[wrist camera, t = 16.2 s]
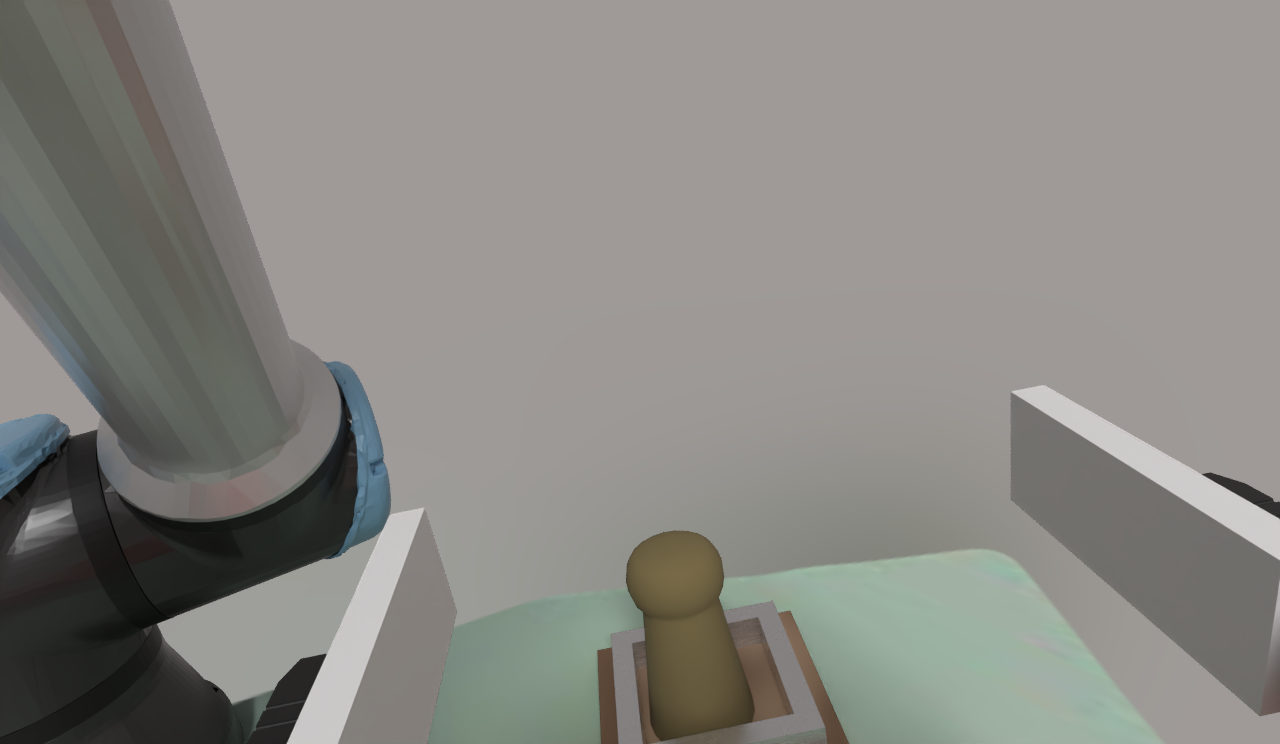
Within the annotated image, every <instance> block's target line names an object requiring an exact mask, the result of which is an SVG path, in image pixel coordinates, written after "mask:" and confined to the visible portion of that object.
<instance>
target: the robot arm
mask: <svg viewBox="0 0 1280 744" xmlns="http://www.w3.org/2000/svg"><path fill="white" fill-rule="evenodd" d="M0 292H1V293H2V294H3V295H4V297H5V298H6V299H7V300H8V302H9V303H10V304H11V305H12V306H13V308H14V309H15V310H16V311H17V313H18V314H19V315H20V316H21V318H22V319H23V320H24V321H25V322H26V324H27V325H28V326H29V327H30V329H31V330H32V331H33V332H34V333H35V335H36V336H37V337H38V339H39V340H40V341H41V342H42V343H43V345H44V346H45V347H46V348H47V350H48V351H49V352H50V353H51V355H52V356H53V357H54V358H55V360H56V361H57V362H58V363H59V364H60V366H61V367H62V368H63V369H64V371H65V372H66V373H67V374H68V375H69V377H70V378H71V379H72V380H73V382H74V383H75V384H76V385H77V387H78V388H79V389H80V390H81V392H82V393H83V394H84V395H85V396H86V398H87V399H88V400H89V401H90V403H91V404H92V405H93V406H94V408H95V409H96V410H97V411H98V412H99V414H100V415H101V418H100V422H99V426H98V430H94V431H90V432H87V433H84V434H80V435H76V436H71V435H69V433H70V430H69V428H68V426H67V425H66V424H64V423H62V422H60V420H59V419H58V418H57V417H55V416H53V415H50V414H39V415H34V416H32V417H29V418H25V419H18V420H13V421H9V422H6V423H3V424H0V744H242V742H243V732H242V727H241V724H240V722H239V720H238V717H237V715H236V713H235V711H234V709H233V707H232V704H231V702H230V700H229V699H228V697H227V696H226V694H225V693H224V692H223V691H222V690H221V689H220V688H219V687H217V686H216V685H215V684H213V683H212V682H210V681H207V680H204V679H203V677H201V676H200V674H199V673H198V672H197V671H196V670H195V669H193V667H192V666H190V665H189V664H188V663H187V662H186V661H185V660H184V659H183V658H182V657H181V656H180V655H179V654H178V653H177V652H176V651H175V650H174V649H173V648H171V647H170V646H169V645H168V644H167V642H166V641H165V640H164V638H163V636H162V634H161V632H160V630H159V628H158V625H157V623H160V622H162V621H165V620H168V619H170V618H173V617H175V616H177V615H179V614H182V613H185V612H187V611H190V610H192V609H195V608H197V607H200V606H203V605H205V604H208V603H211V602H213V601H216V600H218V599H221V598H223V597H226V596H229V595H231V594H234V593H237V592H239V591H241V590H244V589H247V588H249V587H252V586H255V585H257V584H260V583H262V582H265V581H268V580H270V579H273V578H275V577H278V576H280V575H283V574H286V573H288V572H291V571H293V570H296V569H299V568H301V567H304V566H306V565H309V564H312V563H314V562H317V561H319V560H322V559H332V558H335V557H338V556H341V555H342V553H345V552H346V551H347V550H348V549H349V548H351V547H353V546H355V545H358V544H360V543H362V542H364V541H367V540H369V539H371V538H373V537H375V536H376V535H377V534H379V533H380V532H381V531H382V530H383V531H382V533H381V535H380V537H379V539H378V542H377V544H376V546H375V549H374V551H373V553H372V555H371V557H370V560H369V562H368V564H367V566H366V568H365V571H364V573H363V575H362V578H361V580H360V582H359V584H358V586H357V589H356V591H355V593H354V595H353V597H352V600H351V602H350V604H349V606H348V609H347V611H346V613H345V616H344V617H343V620H342V622H341V624H340V626H339V629H338V631H337V633H336V635H335V637H334V640H333V642H332V644H331V646H330V649H329V651H328V653H327V654H323V655H318V656H313V657H308V658H303V659H300V660H299V661H298V662H297V663H296V665H294V666H293V668H292V669H291V670H290V671H289V672H288V673H287V674H286V675H285V676H284V677H283V678H282V679H281V680H280V681H279V682H278V684H277V686H276V688H275V690H274V692H273V694H272V696H271V698H270V700H269V702H268V704H267V706H266V711H263V713H262V715H261V717H260V719H259V721H258V723H257V725H256V731H253V733H252V735H251V737H250V739H249V741H248V743H247V744H427V742H428V738H429V733H430V729H431V725H432V720H433V716H434V711H435V707H436V702H437V698H438V694H439V689H440V685H441V680H442V676H443V671H444V667H445V663H446V658H447V654H448V649H449V645H450V640H451V636H452V632H453V627H454V623H455V618H456V614H457V610H456V607H455V603H454V600H453V597H452V594H451V590H450V587H449V584H448V581H447V578H446V574H445V571H444V568H443V565H442V562H441V558H440V555H439V552H438V549H437V545H436V542H435V539H434V536H433V533H432V530H431V526H430V523H429V520H428V517H427V513H426V510H425V508H420V509H416V510H410V511H405V512H400V513H395V514H390V508H391V494H390V484H389V477H388V472H387V468H386V466H385V463H384V462H383V456H384V454H383V447H382V442H381V438H380V434H379V431H378V427H377V424H376V420H375V417H374V414H373V411H372V408H371V406H370V403H369V400H368V398H367V395H366V393H365V391H364V388H363V386H362V384H361V382H360V380H359V378H358V376H357V375H356V373H355V372H354V371H353V369H352V368H351V367H350V366H348V365H346V364H343V363H341V362H329V363H327V362H323V361H322V360H321V359H320V358H319V357H318V356H317V355H316V354H314V353H313V352H312V351H311V350H310V349H308V348H306V347H305V346H303V345H301V344H299V343H297V342H295V341H293V340H291V339H289V336H288V334H287V331H286V328H285V325H284V322H283V319H282V317H281V314H280V311H279V308H278V306H277V303H276V300H275V297H274V294H273V291H272V289H271V286H270V283H269V280H268V278H267V275H266V272H265V269H264V267H263V263H262V261H261V258H260V255H259V252H258V250H257V247H256V244H255V241H254V238H253V236H252V233H251V230H250V227H249V224H248V221H247V218H246V216H245V213H244V210H243V207H242V205H241V202H240V199H239V196H238V193H237V190H236V187H235V185H234V182H233V179H232V176H231V173H230V171H229V168H228V165H227V162H226V159H225V156H224V154H223V151H222V149H221V145H220V142H219V140H218V137H217V134H216V132H215V128H214V126H213V123H212V120H211V117H210V114H209V111H208V109H207V106H206V103H205V100H204V97H203V94H202V92H201V89H200V86H199V83H198V80H197V78H196V75H195V72H194V69H193V66H192V64H191V61H190V58H189V55H188V52H187V49H186V47H185V44H184V41H183V38H182V35H181V32H180V30H179V27H178V24H177V21H176V18H175V16H174V13H173V10H172V7H171V5H170V2H169V0H0ZM1011 500H1012V501H1013V502H1014V503H1015V504H1016V505H1018V506H1019V507H1020V508H1021V509H1022V510H1023V511H1025V512H1026V513H1027V514H1028V515H1029V516H1030V517H1032V518H1033V519H1034V520H1035V521H1036V522H1037V523H1039V525H1041V526H1042V527H1043V528H1044V529H1045V530H1046V531H1048V532H1049V533H1050V534H1051V535H1052V536H1053V537H1055V538H1056V539H1057V540H1058V541H1059V542H1060V543H1061V544H1062V545H1064V546H1065V547H1066V548H1067V549H1068V550H1069V551H1070V552H1072V553H1073V554H1074V555H1075V556H1076V557H1077V558H1079V559H1080V560H1081V561H1082V562H1083V563H1084V564H1085V565H1087V566H1088V567H1089V568H1090V569H1091V570H1092V571H1093V572H1095V573H1096V574H1097V575H1098V576H1099V577H1100V578H1102V579H1103V580H1104V581H1105V582H1106V583H1107V584H1108V585H1110V586H1111V587H1112V588H1113V589H1114V590H1115V591H1116V592H1118V593H1119V594H1120V595H1121V596H1122V597H1123V598H1124V599H1126V600H1127V601H1128V602H1129V603H1130V604H1131V605H1132V606H1134V607H1135V608H1136V609H1137V610H1138V611H1140V612H1141V613H1142V614H1143V615H1144V616H1145V617H1146V618H1147V619H1149V620H1150V621H1151V622H1152V623H1153V624H1154V625H1156V626H1157V627H1158V628H1159V629H1160V630H1161V631H1162V632H1164V633H1165V634H1166V635H1167V636H1168V637H1169V638H1170V639H1172V640H1173V641H1174V642H1175V643H1176V644H1177V645H1178V646H1180V647H1181V648H1182V649H1183V650H1184V651H1185V652H1186V653H1188V654H1189V655H1190V656H1191V657H1192V658H1194V660H1196V661H1197V662H1198V663H1199V664H1200V665H1201V666H1203V667H1204V668H1205V669H1206V670H1207V671H1208V672H1209V673H1211V674H1212V675H1213V676H1214V677H1215V678H1217V679H1218V680H1219V681H1220V682H1221V683H1222V684H1223V685H1224V686H1226V687H1227V688H1228V689H1229V690H1230V691H1231V692H1232V693H1234V694H1235V695H1236V696H1237V697H1238V698H1239V699H1241V700H1242V701H1243V702H1244V703H1245V704H1246V705H1247V706H1249V707H1250V708H1251V709H1252V710H1253V711H1254V712H1255V713H1257V714H1258V715H1259V716H1263V715H1268V714H1273V713H1277V712H1280V502H1274V501H1273V499H1272V498H1271V497H1269V496H1267V495H1265V494H1264V493H1261V492H1260V491H1258V490H1256V489H1254V488H1253V487H1251V486H1249V485H1247V484H1245V483H1242V482H1239V481H1235V480H1232V479H1229V478H1226V477H1223V476H1220V475H1216V474H1213V473H1206V474H1200V473H1198V472H1196V471H1194V470H1192V469H1191V468H1189V467H1187V466H1186V465H1184V464H1182V463H1180V462H1178V461H1177V460H1175V459H1173V458H1171V457H1170V456H1168V455H1166V454H1164V453H1163V452H1161V451H1159V450H1157V449H1156V448H1154V447H1152V446H1150V445H1149V444H1147V443H1145V442H1143V441H1142V440H1140V439H1138V438H1136V437H1134V436H1133V435H1131V434H1129V433H1127V432H1126V431H1124V430H1122V429H1121V428H1118V427H1117V426H1115V425H1113V424H1112V423H1110V422H1108V421H1106V420H1104V419H1103V418H1101V417H1099V416H1098V415H1096V414H1094V413H1092V412H1091V411H1089V410H1087V409H1085V408H1084V407H1082V406H1080V405H1078V404H1077V403H1075V402H1073V401H1071V400H1070V399H1068V398H1066V397H1064V396H1062V395H1061V394H1059V393H1057V392H1055V391H1054V390H1052V389H1050V388H1048V387H1047V386H1045V385H1042V386H1037V387H1032V388H1027V389H1022V390H1016V391H1011Z"/></svg>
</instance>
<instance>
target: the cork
mask: <svg viewBox="0 0 1280 744" xmlns="http://www.w3.org/2000/svg"><path fill="white" fill-rule="evenodd" d="M723 581H724V573H723V567H722V560H721V557H720V555H719V553H718V551H717V549H716V548H715V547H714V545H713V544H712V543H711V542H710V541H709V540H708V539H707V538H705V537H704V536H702V535H700V534H698V533H693V532H689V531H669V532H663V533H660V534H657V535H654V536H652V537H650V538H648V539H647V540H645V541H643V542H642V543H641V544H639V545H638V546H637V547H636V548H635V549H634V551H633V553H632V554H631V556H630V558H629V560H628V563H627V573H626V583H627V587H628V591H629V593H630V595H631V597H632V599H633V601H634V603H635V604H636V606H637V608H639V609H640V610H641V611H643V617H644V632H645V648H646V663H647V678H648V693H649V709H650V724H651V726H652V729H653V731H654V733H655V736H656V737H657V738H658V739H659V740H660V741H666V740H671V739H676V738H681V737H685V736H690V735H695V734H700V733H704V732H709V731H714V730H719V729H723V728H728V727H733V726H738V725H743V724H747V723H752V720H753V716H754V712H755V707H754V701H753V697H752V694H751V691H750V688H749V685H748V682H747V679H746V676H745V673H744V670H743V667H742V664H741V661H740V658H739V655H738V653H737V650H736V647H735V644H734V641H733V638H732V635H731V632H730V629H729V626H728V623H727V620H726V617H725V614H724V612H723V609H722V606H721V603H720V600H719V596H720V593H721V590H722V588H723Z"/></svg>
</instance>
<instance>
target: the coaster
mask: <svg viewBox="0 0 1280 744" xmlns="http://www.w3.org/2000/svg"><path fill="white" fill-rule="evenodd" d="M723 612H724V614H725V617H726V620H727V623H728V626H729V629H730V632H731V635H732V638H733V641H734V644H735V647H736V650H737V653H738V655H739V658H740V661H741V664H742V667H743V670H744V673H745V676H746V679H747V682H748V685H749V688H750V691H751V694H752V697H753V701H754V707H755V712H754V716H753V720H752V723H747V724H743V725H738V726H733V727H728V728H723V729H719V730H714V731H709V732H704V733H700V734H695V735H690V736H685V737H681V738H676V739H671V740H666V741H660V740H659V739H658V738H657V737H656V736H655V733H654V731H653V729H652V726H651V724H650V709H649V693H648V678H647V663H646V648H645V632H644V628H639V629H634V630H629V631H624V632H619V633H614V634H611V640H612V648H607V649H602V650H597V651H598V676H599V700H600V725H601V744H849V743H848V740H847V738H846V736H845V733H844V731H843V729H842V727H841V724H840V722H839V720H838V718H837V715H836V713H835V711H834V709H833V706H832V704H831V702H830V700H829V697H828V695H827V693H826V691H825V688H824V686H823V684H822V681H821V679H820V677H819V675H818V672H817V670H816V668H815V666H814V663H813V661H812V659H811V657H810V654H809V652H808V650H807V648H806V645H805V643H804V641H803V639H802V636H801V634H800V632H799V630H798V627H797V625H796V623H795V620H794V618H793V616H792V614H791V611H786V612H781V613H778V612H777V610H776V607H775V605H774V602H773V601H770V602H765V603H760V604H755V605H750V606H745V607H740V608H736V609H731V610H726V611H723Z"/></svg>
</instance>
